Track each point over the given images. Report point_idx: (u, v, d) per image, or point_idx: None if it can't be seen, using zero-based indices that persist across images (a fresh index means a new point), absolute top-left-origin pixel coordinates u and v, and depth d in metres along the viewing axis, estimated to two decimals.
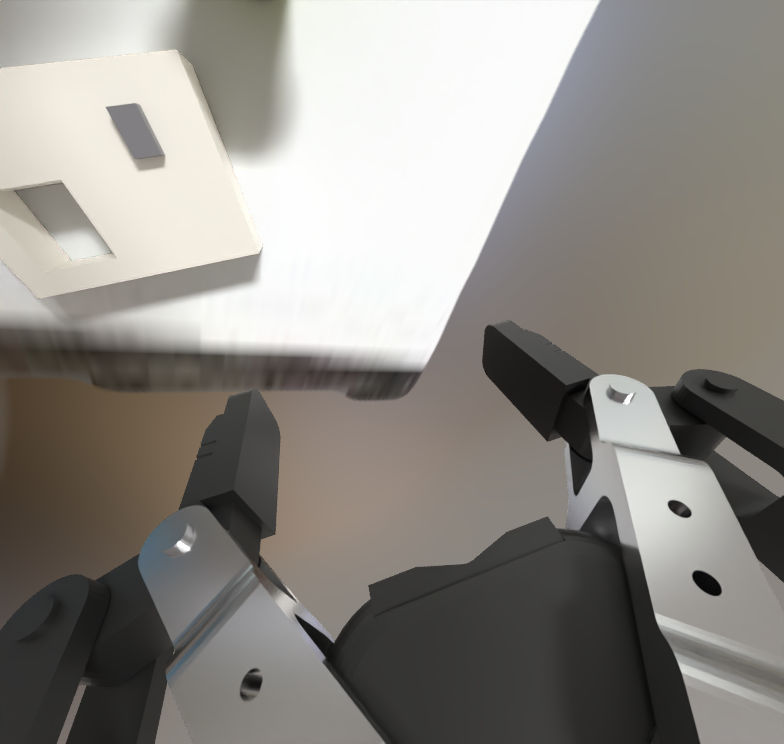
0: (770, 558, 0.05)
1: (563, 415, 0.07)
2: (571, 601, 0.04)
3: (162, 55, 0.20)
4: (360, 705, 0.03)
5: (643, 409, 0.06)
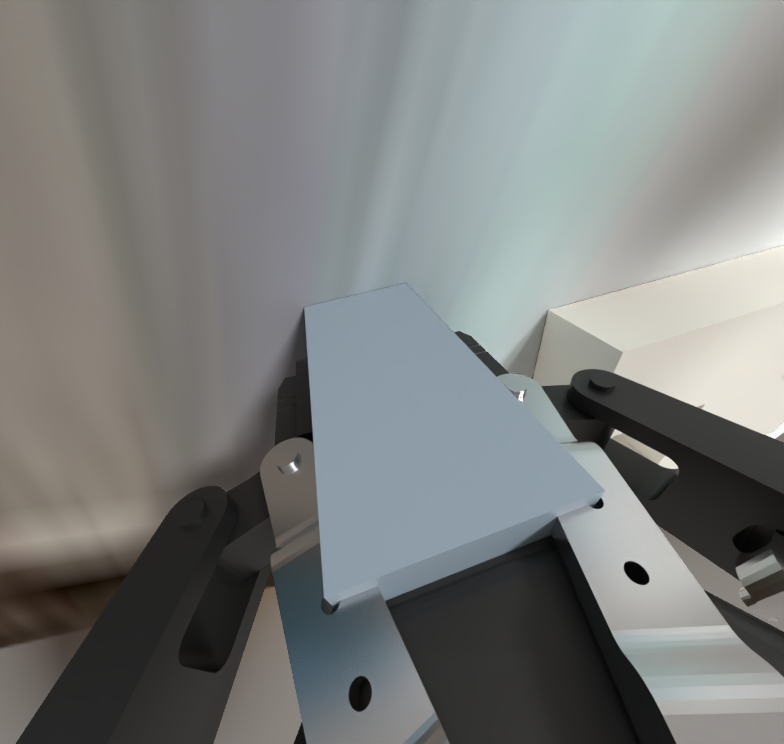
0: (678, 530, 0.06)
1: None
2: (571, 601, 0.04)
3: None
4: (416, 670, 0.03)
5: (528, 406, 0.06)
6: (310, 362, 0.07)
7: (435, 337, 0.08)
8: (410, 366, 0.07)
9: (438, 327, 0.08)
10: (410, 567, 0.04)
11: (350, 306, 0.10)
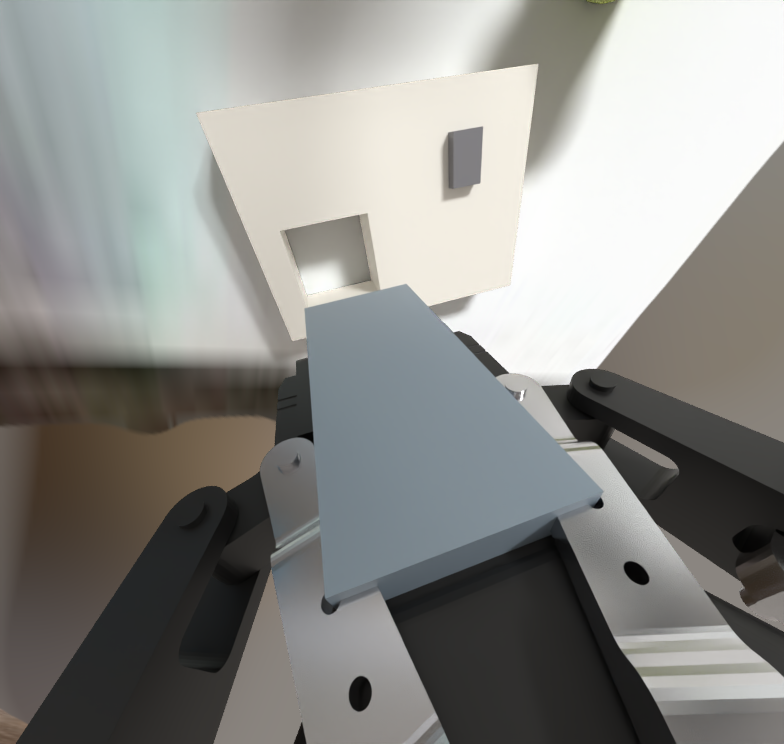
0: (678, 530, 0.06)
1: None
2: (571, 601, 0.04)
3: (522, 70, 0.17)
4: (416, 670, 0.03)
5: (528, 405, 0.06)
6: (310, 363, 0.07)
7: (435, 338, 0.08)
8: (410, 367, 0.07)
9: (438, 328, 0.08)
10: (410, 568, 0.04)
11: (350, 307, 0.10)
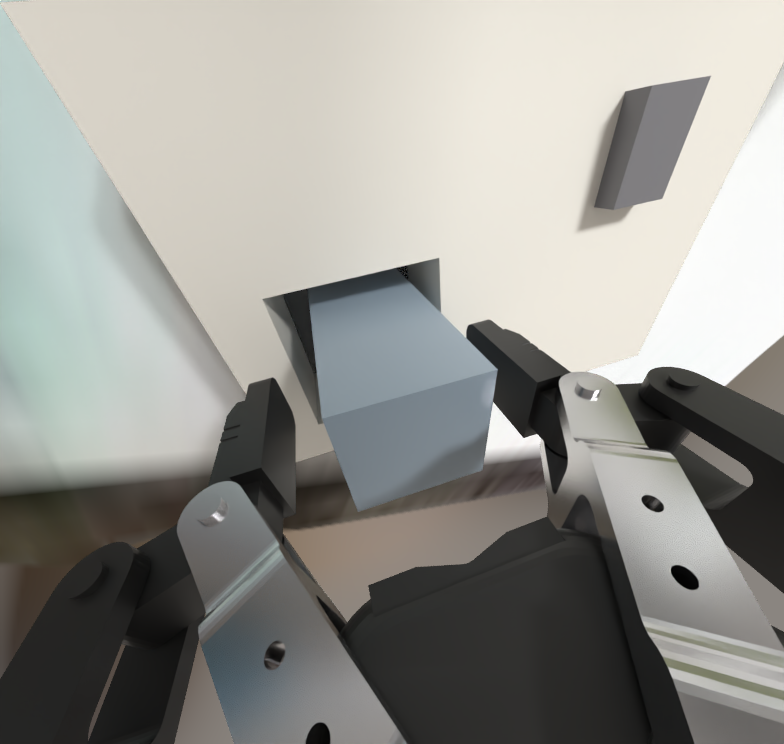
0: (741, 547, 0.06)
1: (537, 412, 0.08)
2: (571, 601, 0.04)
3: None
4: (376, 691, 0.03)
5: (607, 405, 0.06)
6: (312, 313, 0.10)
7: (407, 297, 0.10)
8: (386, 314, 0.09)
9: (410, 291, 0.10)
10: (374, 407, 0.06)
11: None
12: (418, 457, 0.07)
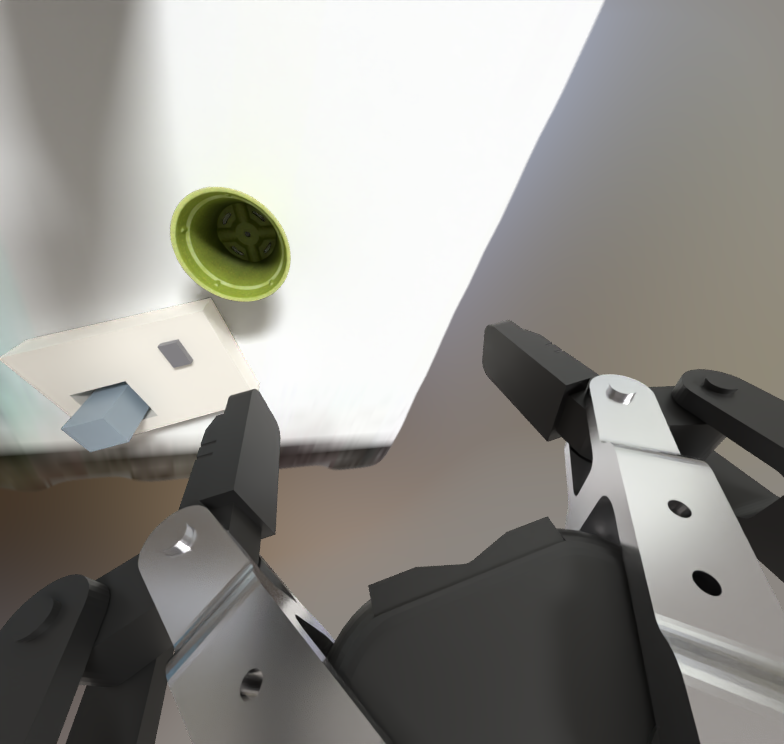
0: (770, 558, 0.05)
1: (563, 415, 0.07)
2: (571, 601, 0.04)
3: (193, 314, 0.31)
4: (360, 705, 0.03)
5: (643, 409, 0.06)
6: (89, 397, 0.33)
7: (119, 391, 0.34)
8: (105, 399, 0.33)
9: (123, 388, 0.34)
10: (73, 426, 0.30)
11: None
12: (98, 437, 0.31)
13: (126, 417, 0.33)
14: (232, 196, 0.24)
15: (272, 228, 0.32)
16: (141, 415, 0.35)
